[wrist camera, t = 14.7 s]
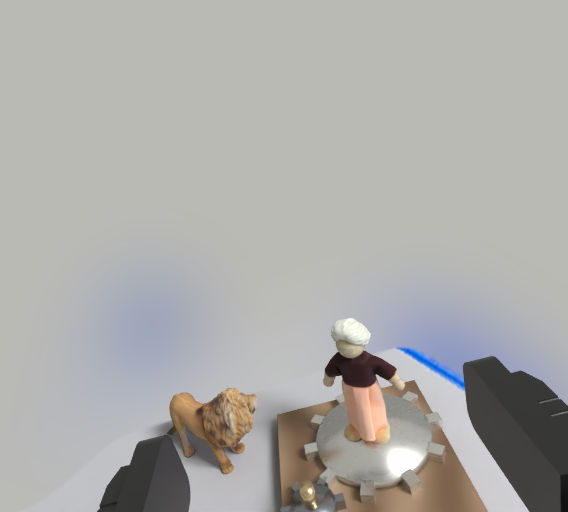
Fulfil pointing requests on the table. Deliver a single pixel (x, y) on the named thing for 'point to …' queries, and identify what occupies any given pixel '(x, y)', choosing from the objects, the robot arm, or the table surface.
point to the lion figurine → (214, 422)
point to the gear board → (390, 502)
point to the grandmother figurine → (361, 382)
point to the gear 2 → (377, 448)
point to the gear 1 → (314, 498)
